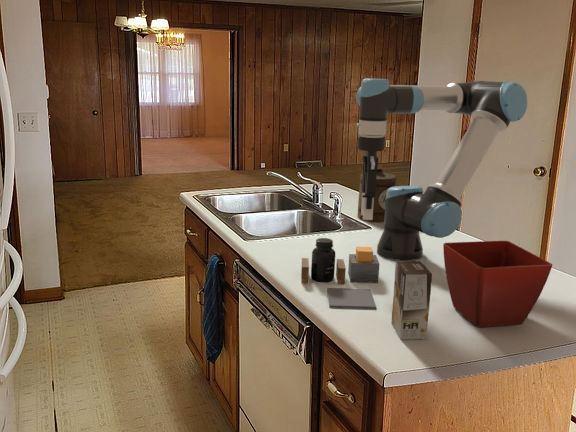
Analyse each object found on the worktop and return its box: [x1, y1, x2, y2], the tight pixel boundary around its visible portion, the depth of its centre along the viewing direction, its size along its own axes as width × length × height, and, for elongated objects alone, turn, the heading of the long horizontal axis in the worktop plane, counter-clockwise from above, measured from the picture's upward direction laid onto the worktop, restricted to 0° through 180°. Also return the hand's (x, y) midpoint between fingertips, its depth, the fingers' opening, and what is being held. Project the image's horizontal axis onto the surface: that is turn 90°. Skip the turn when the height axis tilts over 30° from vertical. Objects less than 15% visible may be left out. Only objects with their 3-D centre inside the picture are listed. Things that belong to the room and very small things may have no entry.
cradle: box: [300, 257, 347, 286], centre depth 163 cm, size 12×8×5 cm, turn 89°
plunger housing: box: [347, 253, 380, 284], centre depth 164 cm, size 8×8×6 cm
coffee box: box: [391, 260, 433, 340], centre depth 130 cm, size 9×6×16 cm
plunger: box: [355, 246, 374, 262], centre depth 164 cm, size 4×4×6 cm
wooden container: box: [357, 165, 397, 223], centre depth 231 cm, size 15×15×22 cm
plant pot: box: [442, 240, 553, 328], centre depth 139 cm, size 19×19×17 cm
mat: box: [326, 287, 377, 310], centre depth 150 cm, size 12×12×1 cm
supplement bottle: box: [310, 237, 336, 284], centre depth 162 cm, size 7×7×12 cm
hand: (366, 217), depth 160 cm, fingers open, 4 cm apart
